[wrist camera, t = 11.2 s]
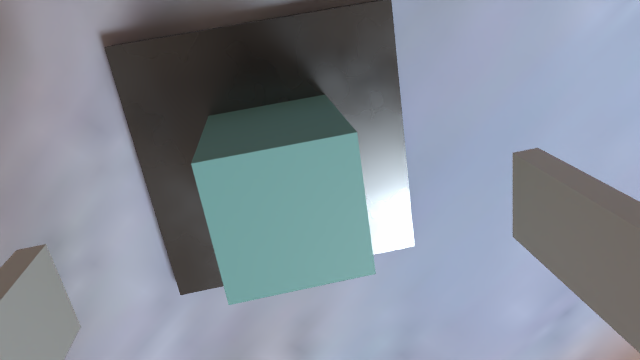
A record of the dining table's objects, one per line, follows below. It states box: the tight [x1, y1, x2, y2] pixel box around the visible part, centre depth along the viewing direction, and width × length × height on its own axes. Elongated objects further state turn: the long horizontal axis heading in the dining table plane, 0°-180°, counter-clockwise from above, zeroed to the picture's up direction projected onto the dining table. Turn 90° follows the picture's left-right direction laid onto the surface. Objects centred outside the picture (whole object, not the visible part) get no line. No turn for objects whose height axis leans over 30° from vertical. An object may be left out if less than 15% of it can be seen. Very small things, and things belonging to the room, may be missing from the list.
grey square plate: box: [104, 0, 414, 295], centre depth 20 cm, size 12×12×6 cm
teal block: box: [191, 95, 376, 305], centre depth 19 cm, size 5×5×7 cm
